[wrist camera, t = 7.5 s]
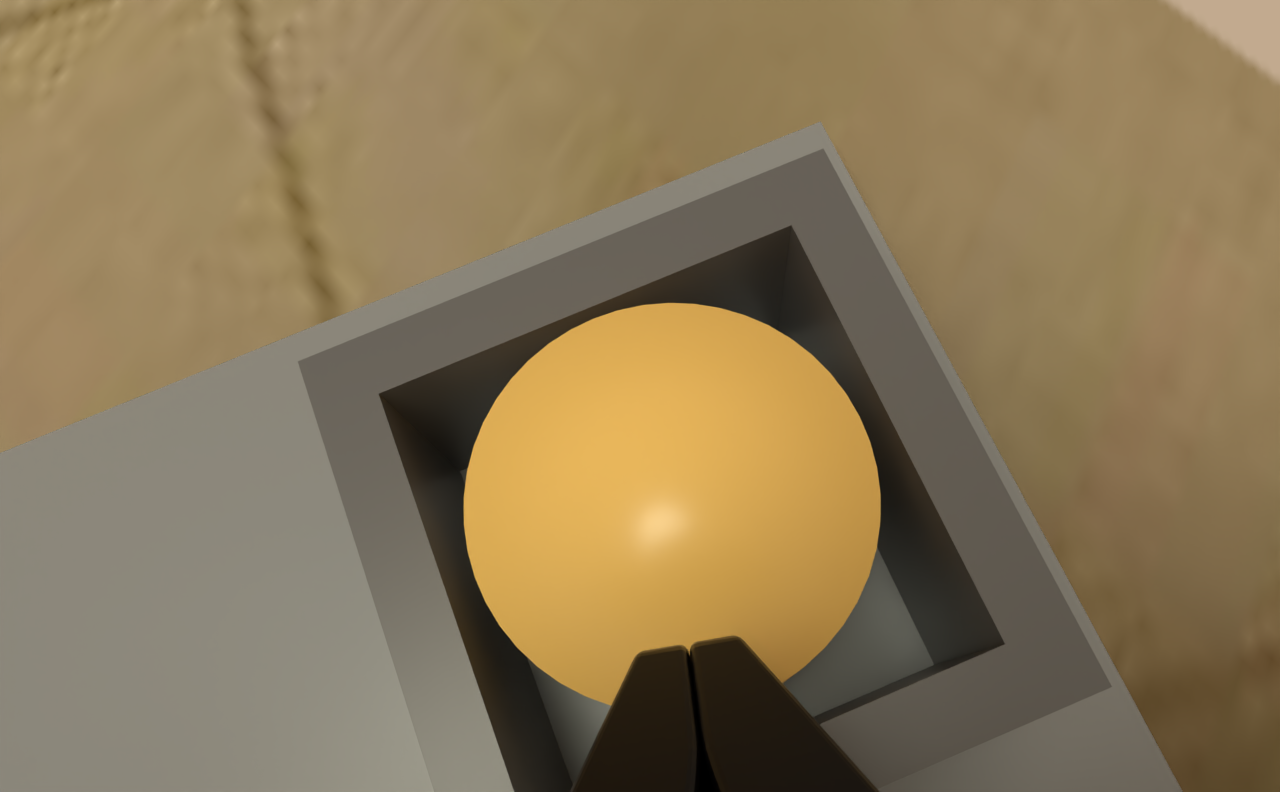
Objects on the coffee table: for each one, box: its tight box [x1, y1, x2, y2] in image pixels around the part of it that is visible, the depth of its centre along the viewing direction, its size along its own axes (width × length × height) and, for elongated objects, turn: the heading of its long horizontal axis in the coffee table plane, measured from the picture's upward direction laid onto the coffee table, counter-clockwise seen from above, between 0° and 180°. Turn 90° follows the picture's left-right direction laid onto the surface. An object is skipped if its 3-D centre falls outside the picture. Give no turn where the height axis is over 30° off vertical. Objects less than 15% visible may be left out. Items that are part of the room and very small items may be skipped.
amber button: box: [464, 303, 881, 706], centre depth 13 cm, size 4×4×4 cm
